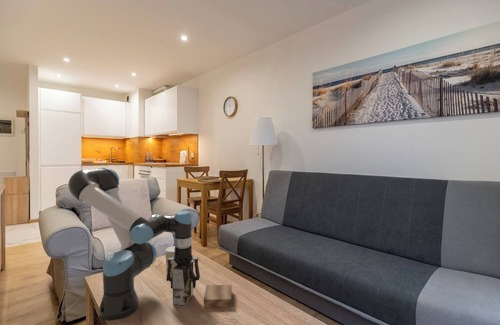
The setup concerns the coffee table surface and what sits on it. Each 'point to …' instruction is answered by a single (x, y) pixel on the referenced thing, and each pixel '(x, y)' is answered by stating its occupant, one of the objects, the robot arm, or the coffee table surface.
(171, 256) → the coffee cup
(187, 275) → the coffee box
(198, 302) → the coffee table surface
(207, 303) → the walnut block
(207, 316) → the coffee table surface
